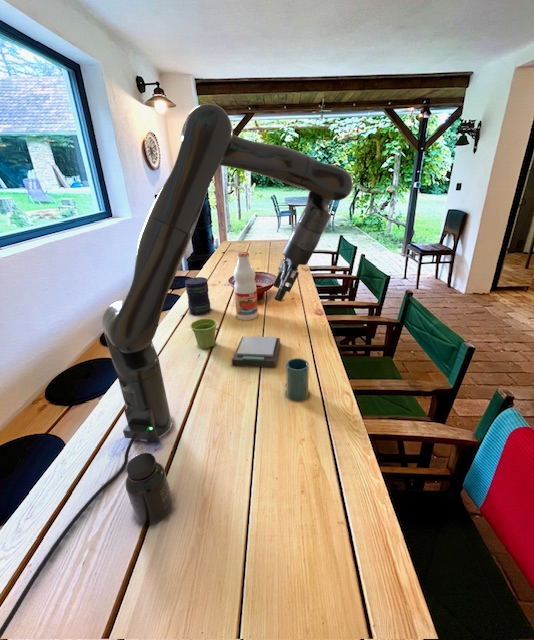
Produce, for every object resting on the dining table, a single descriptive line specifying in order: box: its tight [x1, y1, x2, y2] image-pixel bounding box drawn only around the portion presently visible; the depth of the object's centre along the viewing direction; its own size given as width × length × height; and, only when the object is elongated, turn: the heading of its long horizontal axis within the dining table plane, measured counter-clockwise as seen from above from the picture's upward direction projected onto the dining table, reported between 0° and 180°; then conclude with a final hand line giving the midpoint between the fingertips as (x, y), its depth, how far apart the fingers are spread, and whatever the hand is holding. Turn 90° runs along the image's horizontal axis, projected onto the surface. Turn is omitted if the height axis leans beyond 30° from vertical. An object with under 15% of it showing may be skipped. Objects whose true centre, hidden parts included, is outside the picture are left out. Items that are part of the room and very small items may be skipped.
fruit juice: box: [232, 251, 259, 321], centre depth 136 cm, size 9×9×28 cm
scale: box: [231, 336, 281, 369], centre depth 111 cm, size 16×14×3 cm
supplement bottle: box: [125, 452, 173, 526], centre depth 58 cm, size 7×7×12 cm
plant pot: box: [190, 318, 218, 350], centre depth 117 cm, size 9×9×9 cm
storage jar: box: [184, 276, 212, 317], centre depth 146 cm, size 10×10×15 cm
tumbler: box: [285, 357, 310, 402], centre depth 88 cm, size 6×6×10 cm
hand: (276, 293), depth 93 cm, fingers open, 8 cm apart
